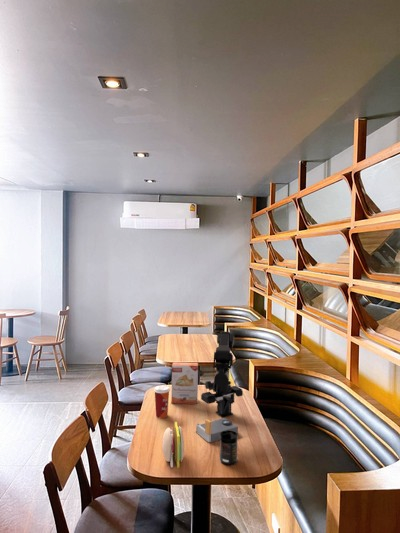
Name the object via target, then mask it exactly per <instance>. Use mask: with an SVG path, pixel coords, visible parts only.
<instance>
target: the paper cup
mask: <svg viewBox="0 0 400 533" xmlns="http://www.w3.org/2000/svg"><path fill="white" fill-rule="evenodd" d="M170 391H171V390H170V387H169V386H168V385H163V384H162V385H157V386H155V387H154V390H153V392H154V399H155V400H154V401H155V417H156V418H159V419H165V418H167V417H168V414H169V412H168V411H169V398H170Z"/></svg>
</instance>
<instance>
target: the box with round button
mask: <svg viewBox="0 0 400 533" xmlns="http://www.w3.org/2000/svg"><path fill="white" fill-rule="evenodd" d="M210 421H211V420H210ZM199 425H200V426H202V427H203V428H204V429H205V422H204V423H200V424H199ZM238 429H239V426H238V425H236V424H235V423H234V422H233V421H231V420H230V419H227V418H226V417H221V418H219V419H216V420H212V421H211V442H210V443H214V442H217V441H220V433H221V432H223V431H234V432H236V433H237V435H239V432H238V431H239V430H238Z"/></svg>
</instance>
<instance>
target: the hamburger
mask: <svg viewBox="0 0 400 533" xmlns="http://www.w3.org/2000/svg"><path fill="white" fill-rule="evenodd" d="M161 448H162V450H161V451H162V454H163V457H164V459H165V460H166V462H168V463H169V462H170V468H174V462H175V463H176V468H177V469H178V468H179V469H180V463H182V462H183V460H184V455H185V441H184V433H183V429H182V427H181V426H180V425H179V426H178V422H177V421H174V427H173V429H171V428H170V427H167V428H166V429H165V431H164V433H163V436H162V447H161Z"/></svg>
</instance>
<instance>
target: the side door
mask: <svg viewBox="0 0 400 533" xmlns="http://www.w3.org/2000/svg"><path fill="white" fill-rule="evenodd" d="M204 420H205V421H204V423H205V429H204V428H203V427H202V426H200V425H201V424H200V423H196V424H195V425H196V432H195V433H196V434H198V436H200V437H201V438H203V439H204V440H205V441H206V442H208V443H212V442H211V420H209V418H206V419H204Z"/></svg>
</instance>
